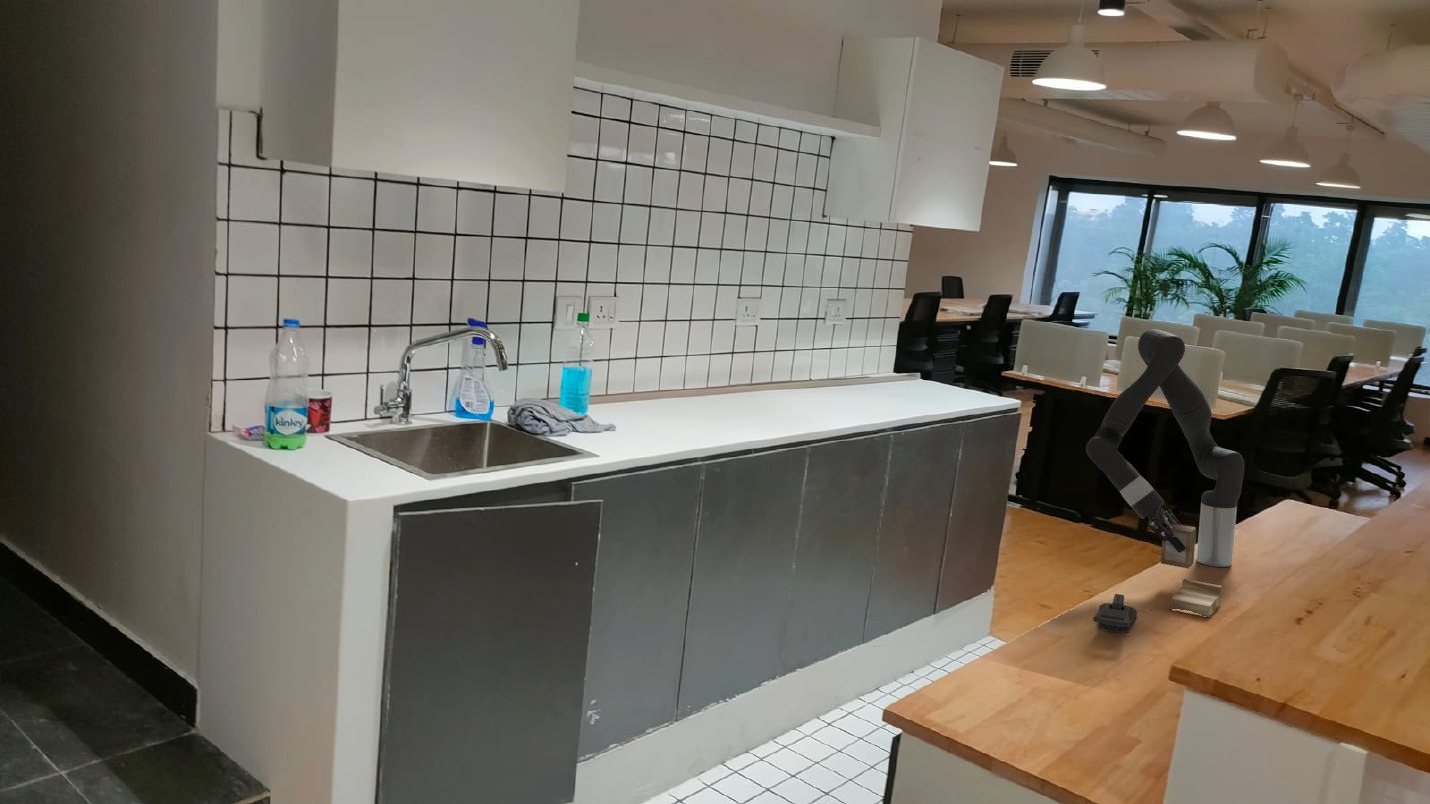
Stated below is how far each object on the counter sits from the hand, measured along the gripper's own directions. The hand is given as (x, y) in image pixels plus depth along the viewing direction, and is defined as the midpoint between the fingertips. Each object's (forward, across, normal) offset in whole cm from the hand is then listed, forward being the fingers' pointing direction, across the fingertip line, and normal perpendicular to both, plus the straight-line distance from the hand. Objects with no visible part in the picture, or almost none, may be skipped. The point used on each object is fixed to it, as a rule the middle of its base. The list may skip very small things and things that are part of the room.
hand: (1185, 547), depth 282 cm
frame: (+2, 0, +5) cm, 5 cm away
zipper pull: (+4, -40, +12) cm, 42 cm away
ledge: (+12, -12, +4) cm, 18 cm away
